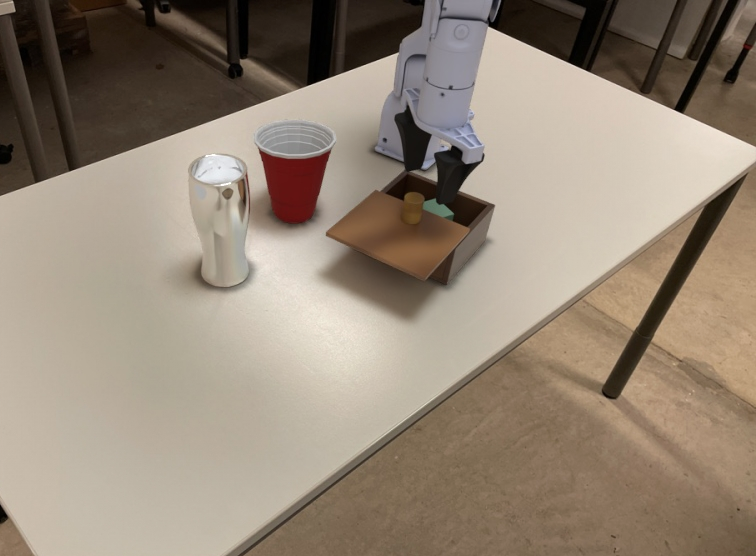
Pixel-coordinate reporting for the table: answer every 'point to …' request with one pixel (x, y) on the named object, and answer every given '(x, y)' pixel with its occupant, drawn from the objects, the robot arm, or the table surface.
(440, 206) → the block
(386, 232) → the lid
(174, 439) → the table surface
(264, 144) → the plastic cup
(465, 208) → the box
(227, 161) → the beer glass
